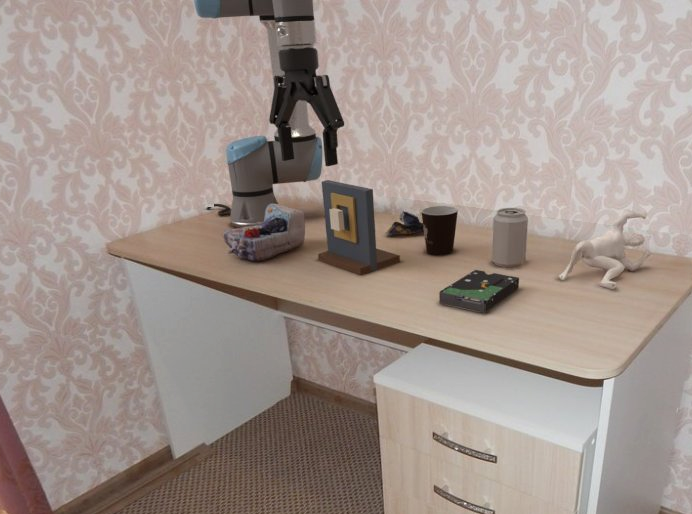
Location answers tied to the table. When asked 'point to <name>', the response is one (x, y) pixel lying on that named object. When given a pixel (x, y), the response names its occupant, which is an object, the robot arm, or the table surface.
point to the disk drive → (479, 291)
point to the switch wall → (353, 230)
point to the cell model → (268, 234)
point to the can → (509, 237)
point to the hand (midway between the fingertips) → (309, 162)
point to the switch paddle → (336, 219)
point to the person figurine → (609, 251)
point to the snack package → (406, 225)
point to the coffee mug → (439, 229)
